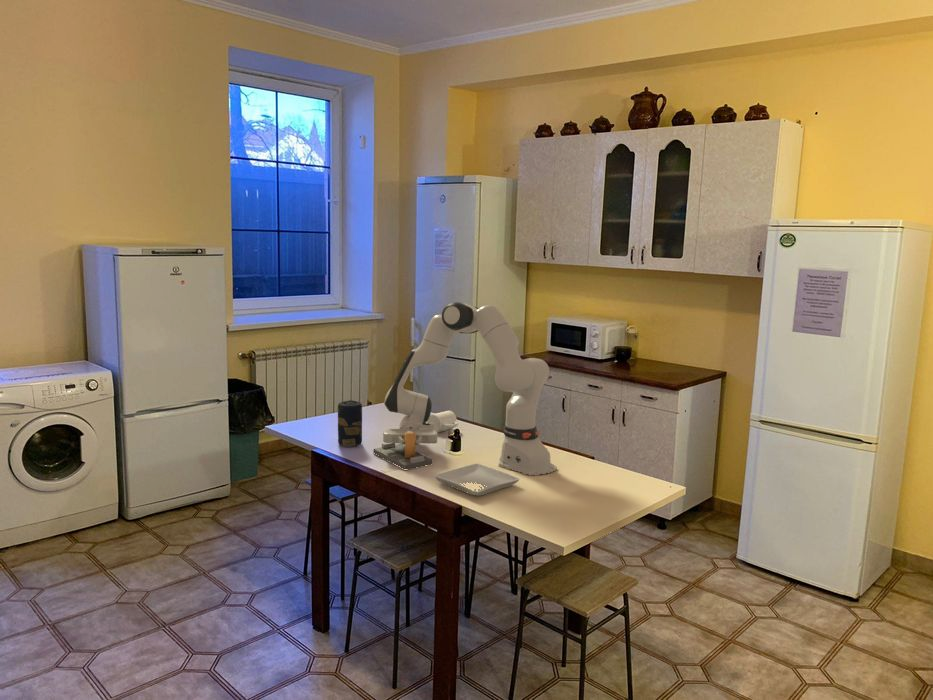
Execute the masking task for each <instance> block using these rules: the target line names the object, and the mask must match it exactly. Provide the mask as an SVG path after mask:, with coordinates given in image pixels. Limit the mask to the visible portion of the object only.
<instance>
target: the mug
mask: <svg viewBox="0 0 933 700" xmlns="http://www.w3.org/2000/svg"><path fill="white" fill-rule="evenodd" d="M427 423H428V424H432V425H433V428H435V429H436V431H437V434H438V433H442V432H445V431H449V429H450V430H452V429H455V428H456V427H458V425H459V423H458V419H457V415H456V414H455V412H453V411H452V410H445V411H441V412H437V413H431V414H430V417H429V419H428V421H427Z"/></svg>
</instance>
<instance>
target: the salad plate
mask: <svg viewBox="0 0 933 700" xmlns="http://www.w3.org/2000/svg"><path fill="white" fill-rule="evenodd" d="M434 477H435V479H436V480H437V481H439V482H440V483H443V484H444V485H447V486H449V485H450V486H449V487H451V486H453V487H452V488H454V487H455V488H454V489H456V488H458V489H460V490H459V491H461V490H463V491H465V492H464V493H466V492H468V493H470V494H469V495H471V494H472V496H475V495H477V496H476V497H478V496H479V495H480V496H483V495H482V494H484V495H486V494H485V493H487V494H490V493H493V492H495V490H496V491H498V489H499V490H502V489H504V487H505V488H507V487H511V486H513V485H515V484H517V483H518V482H519V481H520V478H519V477H517V476H515V475H511V474H508V473H506V472H503V471H502V470H497V469H495V468H493V467H489V466H486V465H485V464H484V465H483V464H480V463H473V464H469V465H466V466H463V467H459V468H455V469H451V470H447V471H444V472H441V473H437V474H435V475H434ZM467 482H468V483H471V482H472V483H473V484H474V483H475V482H476V483H477V484H481V485H482V486H483V487H484V489H482V487H480V486H479V487H480V488H481V490H480V489H478V492H477V491H476V489H474V491H472V490H471V489H468V488H466V487H464V486H465V485H464V484H463V483H465V484H466V483H467ZM460 483H461V484H463V485H464V486H462V485H461V484H460ZM476 483H475V484H476ZM484 485H485V486H484ZM486 486H487V487H486ZM501 488H502V489H501ZM458 489H457V490H458ZM463 491H462V492H463ZM492 491H493V492H492ZM489 492H490V493H489ZM468 493H467V494H468ZM480 496H479V497H480Z"/></svg>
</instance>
